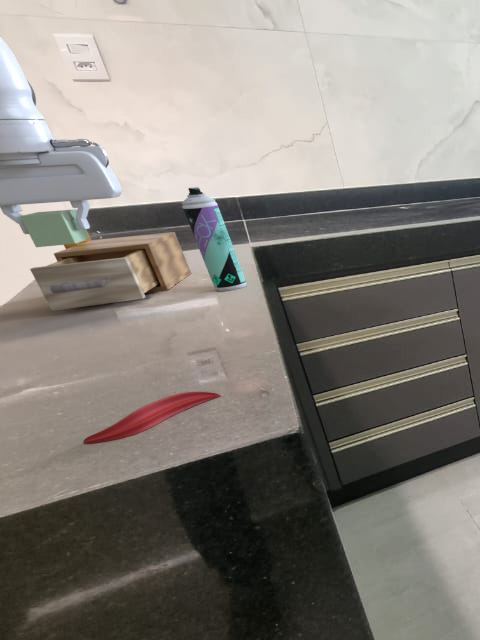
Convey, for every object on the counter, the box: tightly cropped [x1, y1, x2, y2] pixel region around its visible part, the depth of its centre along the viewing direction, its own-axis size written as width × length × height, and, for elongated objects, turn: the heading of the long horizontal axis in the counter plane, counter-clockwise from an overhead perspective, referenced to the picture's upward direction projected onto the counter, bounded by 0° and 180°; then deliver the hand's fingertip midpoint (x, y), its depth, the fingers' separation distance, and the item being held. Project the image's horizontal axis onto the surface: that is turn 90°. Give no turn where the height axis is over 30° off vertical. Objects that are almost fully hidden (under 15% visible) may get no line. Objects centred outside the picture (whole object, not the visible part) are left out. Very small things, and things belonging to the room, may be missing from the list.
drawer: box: [29, 249, 160, 312], centre depth 102 cm, size 19×14×8 cm
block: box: [20, 208, 91, 248], centre depth 87 cm, size 5×5×5 cm
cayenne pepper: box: [82, 391, 222, 444], centre depth 58 cm, size 12×5×2 cm, turn 138°
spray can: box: [181, 186, 248, 292], centre depth 106 cm, size 6×6×20 cm
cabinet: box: [53, 231, 192, 294], centre depth 113 cm, size 16×15×10 cm
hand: (58, 231), depth 88 cm, fingers closed on block, 5 cm apart
